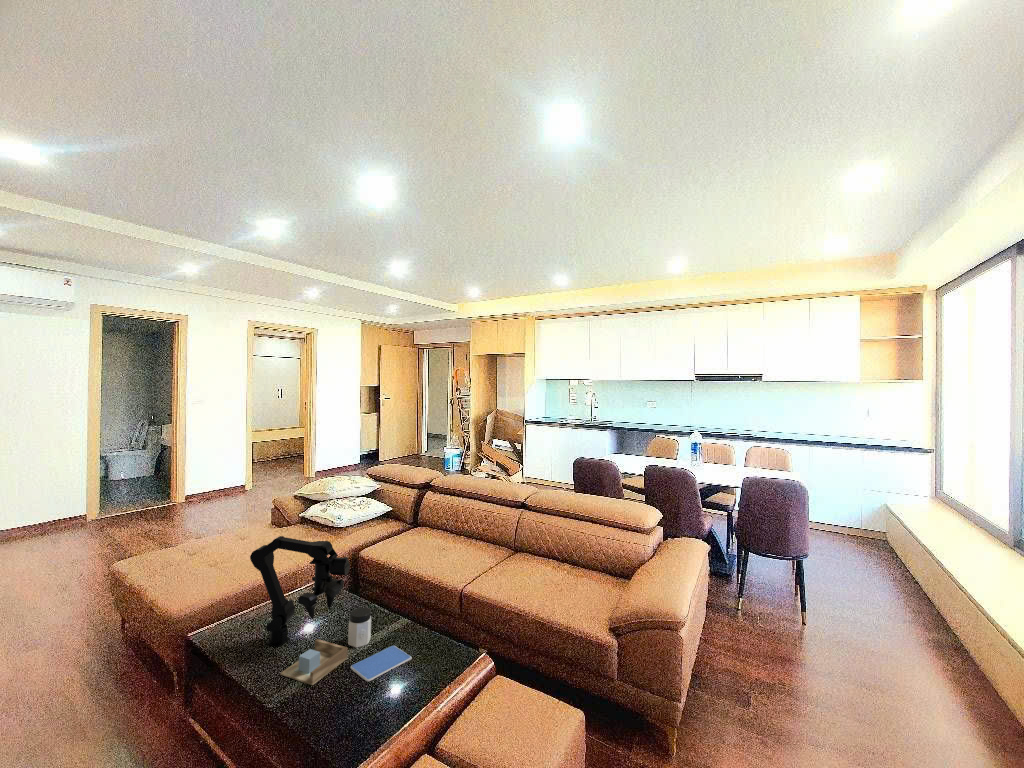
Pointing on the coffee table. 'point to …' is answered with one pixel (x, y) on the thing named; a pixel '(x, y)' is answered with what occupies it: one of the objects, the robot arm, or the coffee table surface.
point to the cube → (309, 661)
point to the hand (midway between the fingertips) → (320, 612)
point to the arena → (328, 661)
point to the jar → (359, 627)
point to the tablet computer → (380, 663)
